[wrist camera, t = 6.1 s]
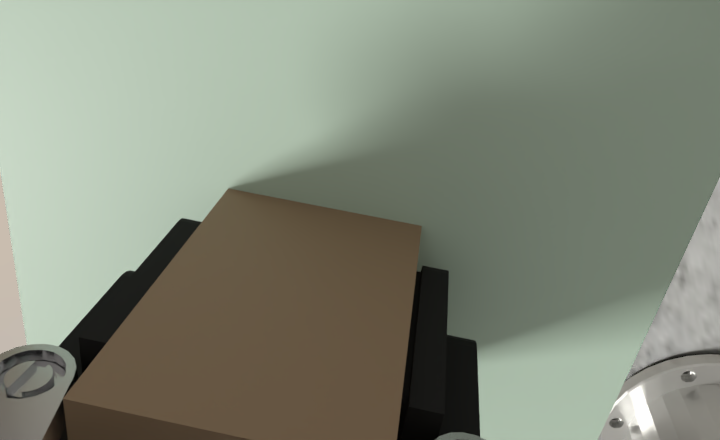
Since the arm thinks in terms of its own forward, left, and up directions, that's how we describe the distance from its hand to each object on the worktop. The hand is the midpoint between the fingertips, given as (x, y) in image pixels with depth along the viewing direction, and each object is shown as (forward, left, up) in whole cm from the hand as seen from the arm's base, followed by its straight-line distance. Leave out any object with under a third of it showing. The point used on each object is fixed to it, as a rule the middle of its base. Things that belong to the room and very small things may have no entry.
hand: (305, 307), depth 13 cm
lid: (0, 0, -2) cm, 2 cm away
